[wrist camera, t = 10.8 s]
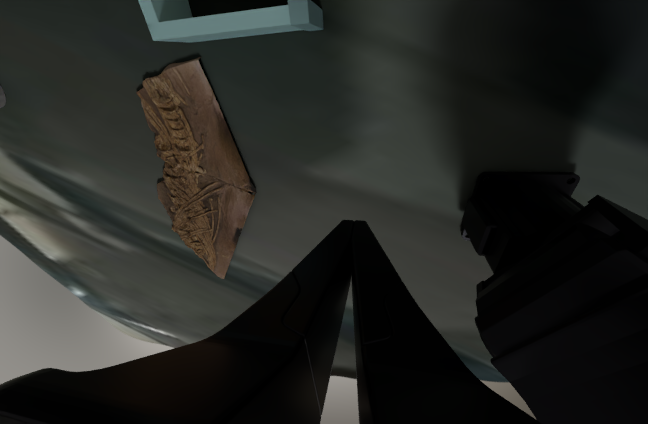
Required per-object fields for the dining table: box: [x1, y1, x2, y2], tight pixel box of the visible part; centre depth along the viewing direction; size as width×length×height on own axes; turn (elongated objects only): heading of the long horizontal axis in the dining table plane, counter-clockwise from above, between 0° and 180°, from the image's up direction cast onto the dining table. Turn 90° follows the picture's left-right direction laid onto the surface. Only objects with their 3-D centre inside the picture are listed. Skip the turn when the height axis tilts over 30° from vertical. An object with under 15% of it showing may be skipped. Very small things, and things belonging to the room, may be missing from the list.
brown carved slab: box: [137, 57, 256, 279], centre depth 25 cm, size 26×11×1 cm, turn 168°
